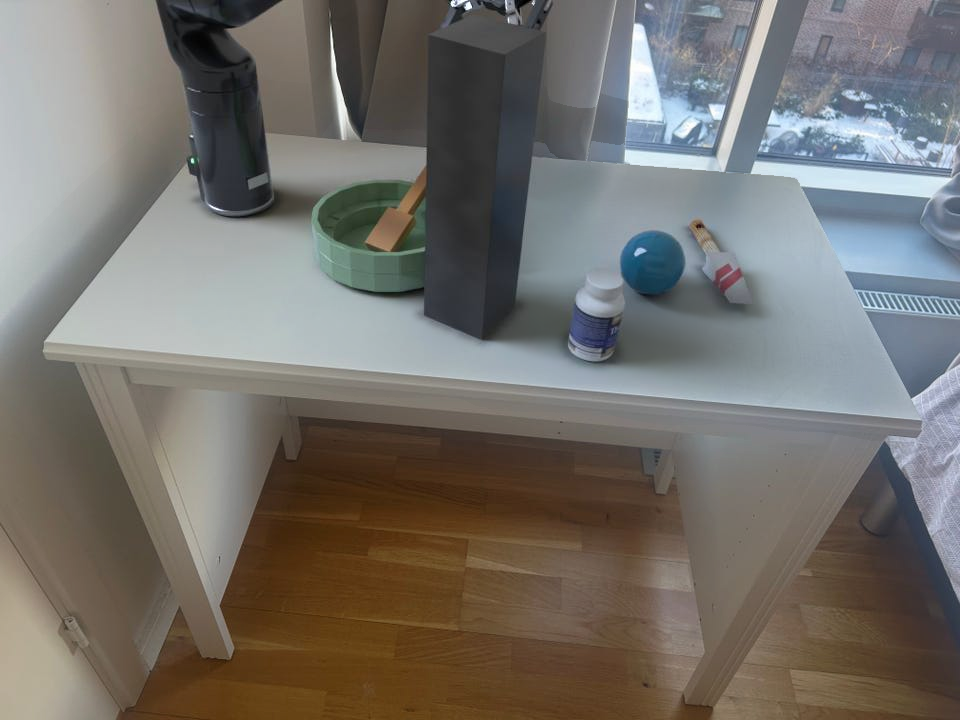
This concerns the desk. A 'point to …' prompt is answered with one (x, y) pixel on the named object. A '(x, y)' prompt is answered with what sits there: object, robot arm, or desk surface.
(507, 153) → the pedestal
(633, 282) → the ball
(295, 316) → the desk surface
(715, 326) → the desk surface
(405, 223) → the wooden spatula
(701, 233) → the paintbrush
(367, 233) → the bowl
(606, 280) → the pill bottle
